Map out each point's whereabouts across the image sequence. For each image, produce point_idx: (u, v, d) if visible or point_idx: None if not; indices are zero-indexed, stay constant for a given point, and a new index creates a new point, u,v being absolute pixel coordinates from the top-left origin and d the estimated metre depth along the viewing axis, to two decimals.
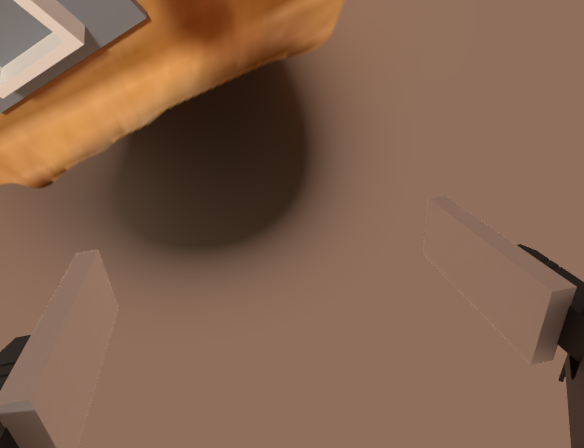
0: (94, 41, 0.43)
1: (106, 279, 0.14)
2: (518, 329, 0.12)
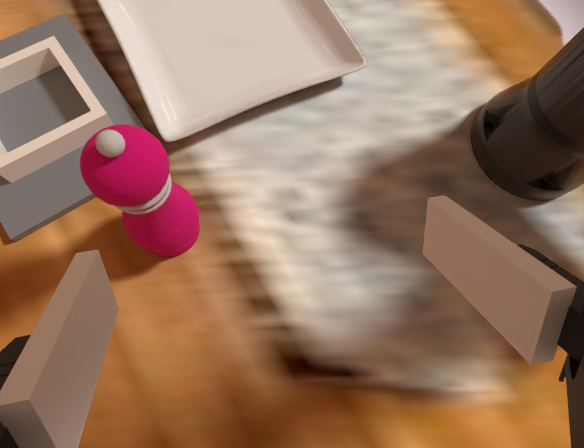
0: None
1: (106, 279, 0.14)
2: (518, 329, 0.12)
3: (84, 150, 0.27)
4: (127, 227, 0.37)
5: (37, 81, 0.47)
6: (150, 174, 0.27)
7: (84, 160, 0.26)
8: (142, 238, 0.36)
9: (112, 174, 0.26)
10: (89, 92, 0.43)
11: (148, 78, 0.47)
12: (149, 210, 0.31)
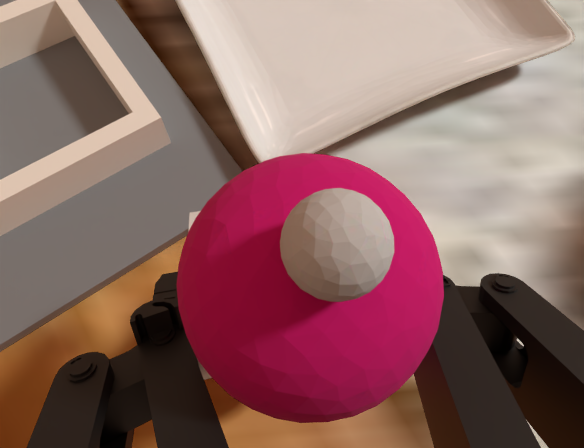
0: None
1: None
2: None
3: (204, 253, 0.07)
4: None
5: (34, 62, 0.27)
6: (431, 332, 0.08)
7: (208, 293, 0.07)
8: None
9: (328, 358, 0.07)
10: (129, 79, 0.24)
11: (223, 58, 0.28)
12: None
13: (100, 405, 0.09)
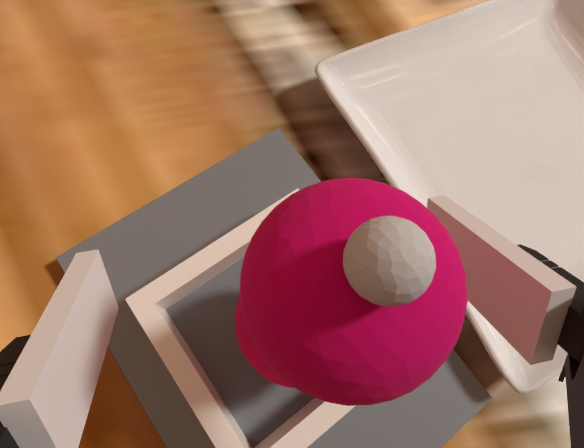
0: None
1: (106, 279, 0.14)
2: (518, 329, 0.12)
3: (271, 264, 0.09)
4: (253, 353, 0.19)
5: None
6: (458, 331, 0.09)
7: (276, 298, 0.09)
8: None
9: (378, 351, 0.08)
10: None
11: None
12: None
13: None
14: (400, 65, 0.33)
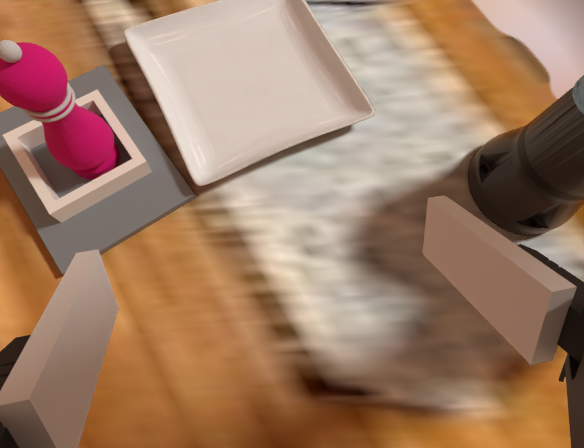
0: (44, 225, 0.48)
1: (106, 279, 0.14)
2: (518, 329, 0.12)
3: None
4: (47, 144, 0.44)
5: None
6: (44, 79, 0.34)
7: None
8: (59, 152, 0.44)
9: (12, 76, 0.33)
10: (130, 141, 0.49)
11: (180, 126, 0.53)
12: (54, 119, 0.39)
13: None
14: (180, 32, 0.58)
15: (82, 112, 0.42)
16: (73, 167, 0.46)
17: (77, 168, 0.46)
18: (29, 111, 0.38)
